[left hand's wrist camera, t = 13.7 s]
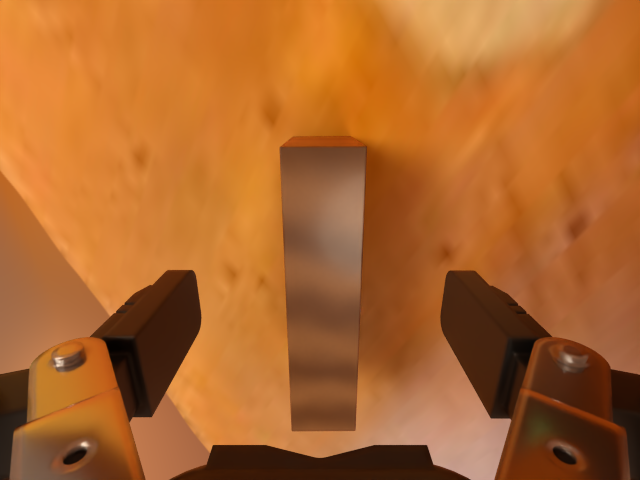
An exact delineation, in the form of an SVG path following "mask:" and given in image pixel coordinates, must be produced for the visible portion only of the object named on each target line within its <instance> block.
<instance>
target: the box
mask: <svg viewBox="0 0 640 480" xmlns="http://www.w3.org/2000/svg"><path fill="white" fill-rule="evenodd" d="M366 157H367V147H366V146H365V145H363V144H362V143H360V142H359V141H357V140H355V139H354V138H352V137H351V136H324V137H292V138H291V139H289V140H288V141H287V142H286V143H285V144H283V145H282V146H281V147H280V167H281V191H282V214H283V238H284V261H285V285H286V308H287V332H288V355H289V378H290V402H291V425H292V431H355V429H356V404H357V380H358V355H359V330H360V305H361V281H362V256H363V231H364V206H365V182H366Z"/></svg>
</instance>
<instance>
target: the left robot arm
mask: <svg viewBox="0 0 640 480" xmlns="http://www.w3.org/2000/svg"><path fill="white" fill-rule="evenodd" d="M200 326H201V309H200V302H199V294H198V287H197V280H196V275H195V273H194V271H193V270H167V271H166V272H165V273H164V274H163V275H162V276H161V277H160V278H159V279H158V280H157V281H156V282H155V283H154V284H153V285H149V286H147V287H146V288H144V289H142V290H140V291H138V292H136V293H135V294H133V295H132V296H131V297H130V298H129V299H128V300H127V301H126V302H125V305H122V306H121V307H120V308H119V309H118V310H117V311H116V313H114V314H113V315H112V316H111V317H110V318H109V319H108V320H107V321H106V322H105V323H104V324H103V325H102V326H100V327H99V328H98V329H97V330H96V331H95V332H94V333H93V334H92V335H91V336H90V337H85V338H78V339H73V340H69V341H66V342H63V343H61V344H58V345H56V346H54V347H52V348H50V349H48V350H47V351H45V352H43V353H42V354H41V355H39V356H38V357H37V358H36V359H35V360H34V361H33V362H32V364H31V366H30V369H25V370H20V371H15V372H10V373H5V374H0V480H145V476H144V473H143V469H142V466H141V462H140V459H139V455H138V452H137V448H136V445H135V441H134V438H133V434H132V431H131V427H130V424H129V422H130V421H131V419H132V417H152V416H153V414H154V412H155V410H156V409H157V407H158V405H159V403H160V401H161V400H162V398H163V396H164V394H165V392H166V391H167V389H168V387H169V385H170V383H171V382H172V380H173V378H174V376H175V374H176V373H177V371H178V369H179V367H180V365H181V364H182V362H183V360H184V358H185V356H186V354H187V353H188V351H189V349H190V347H191V345H192V344H193V342H194V340H195V338H196V336H197V335H198V333H199V330H200ZM441 327H442V331H443V334H444V336H445V337H446V339H447V341H448V343H449V344H450V346H451V348H452V350H453V352H454V353H455V355H456V357H457V359H458V360H459V362H460V364H461V366H462V368H463V369H464V371H465V373H466V375H467V377H468V378H469V380H470V382H471V384H472V385H473V387H474V389H475V391H476V393H477V394H478V396H479V398H480V400H481V401H482V403H483V405H484V407H485V409H486V410H487V412H488V414H489V416H490V418H510V419H511V424H510V427H509V431H508V434H507V438H506V441H505V445H504V448H503V452H502V455H501V459H500V462H499V466H498V469H497V473H496V476H495V480H640V375H638V374H633V373H628V372H623V371H617V370H612V369H610V366H609V364H608V362H607V361H606V360H605V359H604V358H603V357H602V356H601V355H599V354H598V353H597V352H595V351H594V350H592V349H590V348H588V347H586V346H584V345H582V344H579V343H577V342H574V341H571V340H567V339H562V338H556V337H552V336H551V335H550V334H549V333H548V332H547V331H546V330H545V329H544V328H543V327H542V326H540V325H539V324H538V323H537V322H536V321H535V320H534V319H533V318H532V317H531V316H530V315H529V314H526V311H525V310H524V309H523V308H522V307H521V306H518V303H517V302H515V301H514V300H513V299H512V298H511V297H510V296H509V295H508V294H507V293H505V292H503V291H501V290H499V289H497V288H496V287H494V286H489V285H488V284H487V283H486V281H485V280H484V279H483V278H482V277H481V276H480V275H479V274H478V273H477V272H475V271H449V272H448V273H447V275H446V280H445V287H444V294H443V301H442V308H441ZM170 480H470V479H468V478H467V477H465V476H462V475H460V474H458V473H456V472H454V471H451V470H449V469H446V468H443V467H440V466H437V465H433V462H432V459H431V456H430V453H429V450H428V447H427V445H373V446H369V447H365V448H361V449H357V450H353V451H349V452H345V453H341V454H337V455H333V456H329V457H325V458H315V457H311V456H307V455H303V454H299V453H295V452H291V451H287V450H283V449H279V448H275V447H271V446H267V445H213V447H212V450H211V453H210V456H209V459H208V462H207V465H203V466H200V467H197V468H194V469H191V470H189V471H186V472H184V473H182V474H180V475H178V476H176V477H173V478H172V479H170Z"/></svg>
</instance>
